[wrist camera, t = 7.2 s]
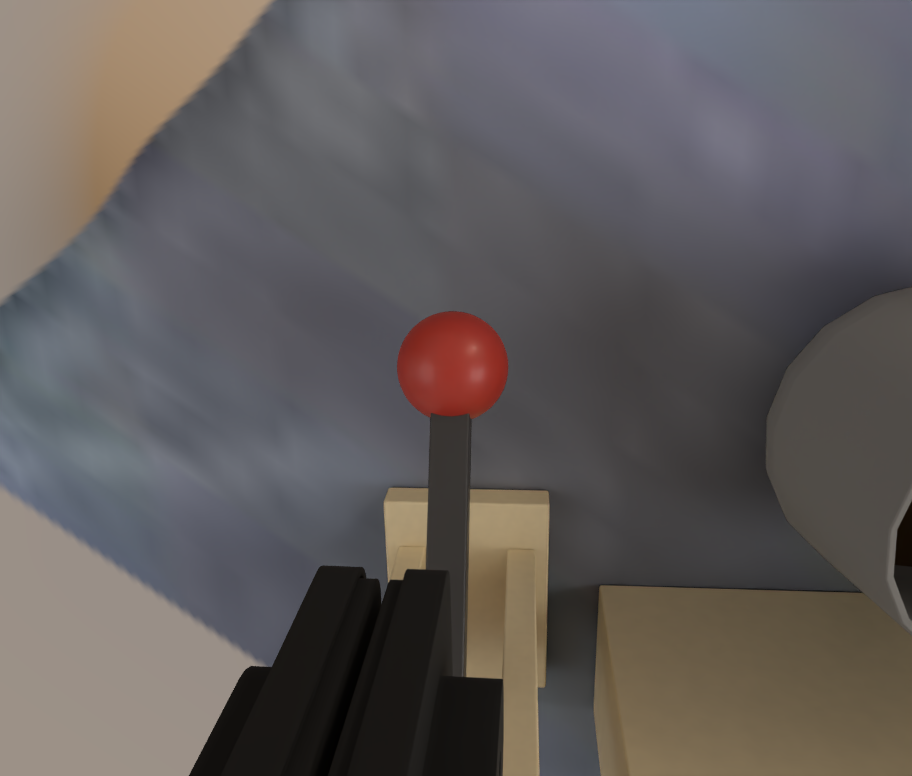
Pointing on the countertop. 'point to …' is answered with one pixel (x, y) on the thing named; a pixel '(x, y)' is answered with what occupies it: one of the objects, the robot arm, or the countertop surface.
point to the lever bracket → (493, 597)
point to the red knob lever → (452, 437)
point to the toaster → (750, 684)
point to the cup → (852, 448)
